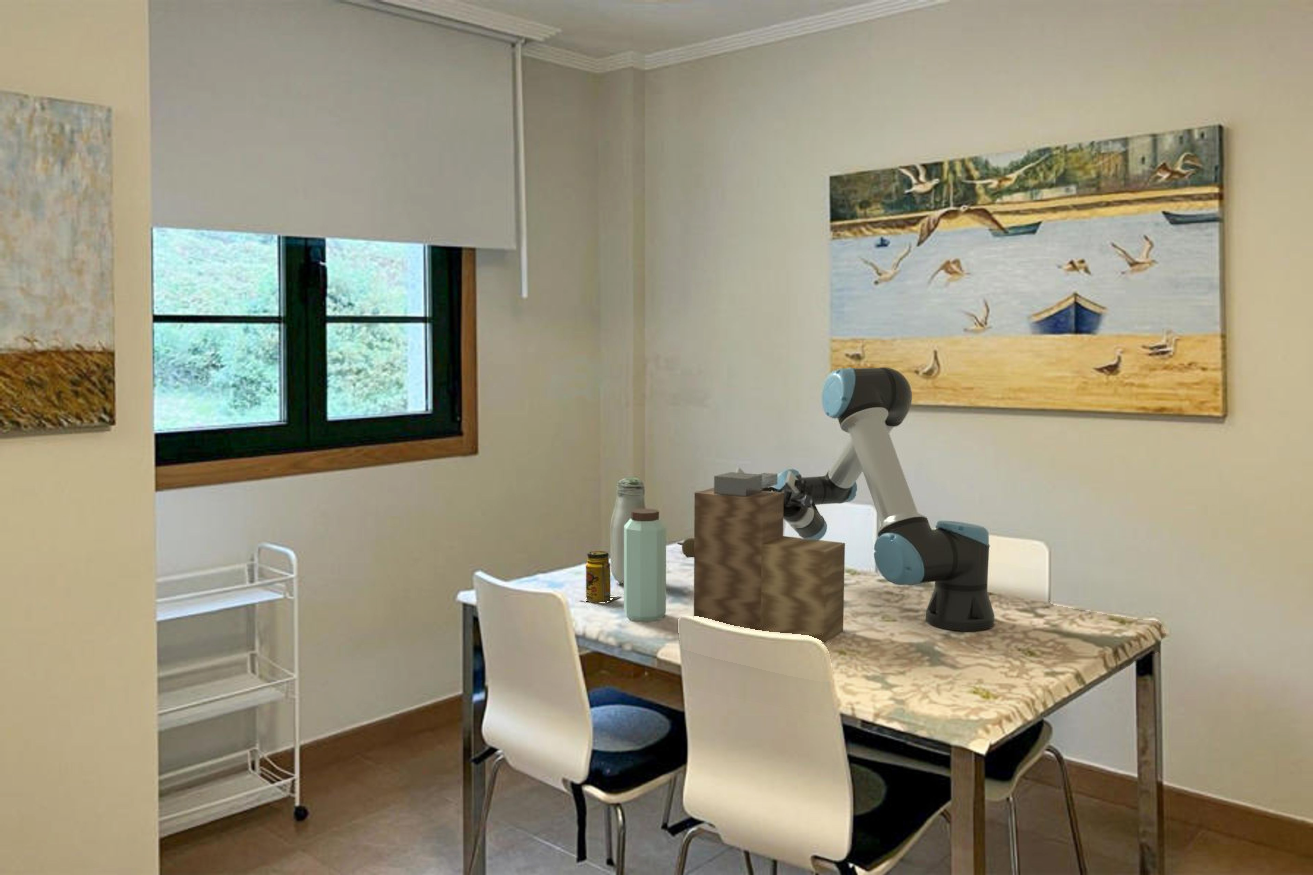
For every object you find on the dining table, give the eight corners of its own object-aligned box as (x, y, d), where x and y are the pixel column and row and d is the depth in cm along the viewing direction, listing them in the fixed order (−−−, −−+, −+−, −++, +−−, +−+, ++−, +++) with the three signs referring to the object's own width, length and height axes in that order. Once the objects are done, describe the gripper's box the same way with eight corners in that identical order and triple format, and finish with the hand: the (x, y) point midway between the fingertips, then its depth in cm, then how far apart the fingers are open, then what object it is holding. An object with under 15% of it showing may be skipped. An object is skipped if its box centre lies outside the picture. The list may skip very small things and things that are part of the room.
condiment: (579, 601, 270) (578, 553, 268) (596, 594, 277) (596, 547, 276) (604, 605, 266) (604, 556, 265) (621, 597, 274) (621, 550, 272)
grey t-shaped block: (785, 485, 260) (786, 468, 260) (745, 496, 242) (746, 478, 242) (755, 482, 264) (755, 466, 264) (714, 493, 246) (714, 476, 246)
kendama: (733, 564, 315) (670, 555, 323) (745, 558, 323) (683, 550, 332) (734, 543, 314) (671, 535, 322) (746, 538, 323) (684, 531, 331)
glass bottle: (622, 589, 282) (621, 481, 279) (604, 581, 291) (604, 476, 288) (655, 585, 286) (655, 479, 284) (637, 577, 295) (637, 474, 292)
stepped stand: (843, 631, 244) (845, 498, 241) (823, 643, 234) (826, 505, 231) (716, 611, 260) (717, 486, 257) (693, 622, 251) (694, 492, 248)
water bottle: (661, 623, 250) (661, 515, 247) (619, 621, 252) (618, 513, 249) (669, 612, 259) (670, 508, 257) (628, 610, 261) (628, 506, 259)
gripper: (837, 526, 268) (807, 493, 251) (746, 517, 281) (711, 484, 264) (843, 498, 270) (814, 463, 253) (753, 490, 283) (719, 456, 267)
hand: (761, 474), depth 259 cm, fingers open, 13 cm apart
